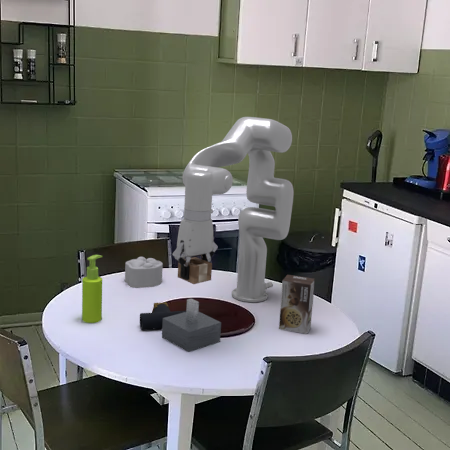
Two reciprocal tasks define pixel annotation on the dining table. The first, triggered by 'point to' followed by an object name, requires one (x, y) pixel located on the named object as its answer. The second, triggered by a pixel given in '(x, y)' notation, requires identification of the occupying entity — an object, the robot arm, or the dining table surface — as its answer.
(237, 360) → the dining table surface
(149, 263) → the lumpy-topped squat cylinder
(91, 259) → the soap dispenser
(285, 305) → the brown grey upright box
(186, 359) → the dining table surface
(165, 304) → the pipe connector
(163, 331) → the block
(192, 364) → the dining table surface
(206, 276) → the brown small box
